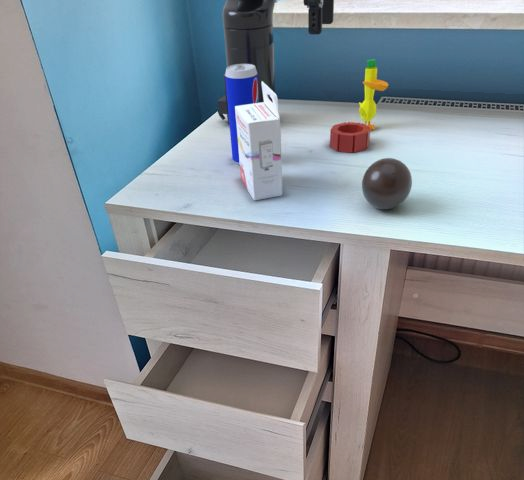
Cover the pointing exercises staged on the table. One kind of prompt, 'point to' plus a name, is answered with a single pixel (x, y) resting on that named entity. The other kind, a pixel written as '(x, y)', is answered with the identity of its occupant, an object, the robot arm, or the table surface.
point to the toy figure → (370, 92)
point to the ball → (386, 183)
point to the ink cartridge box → (260, 146)
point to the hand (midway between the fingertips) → (321, 28)
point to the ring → (349, 137)
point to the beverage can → (239, 96)
